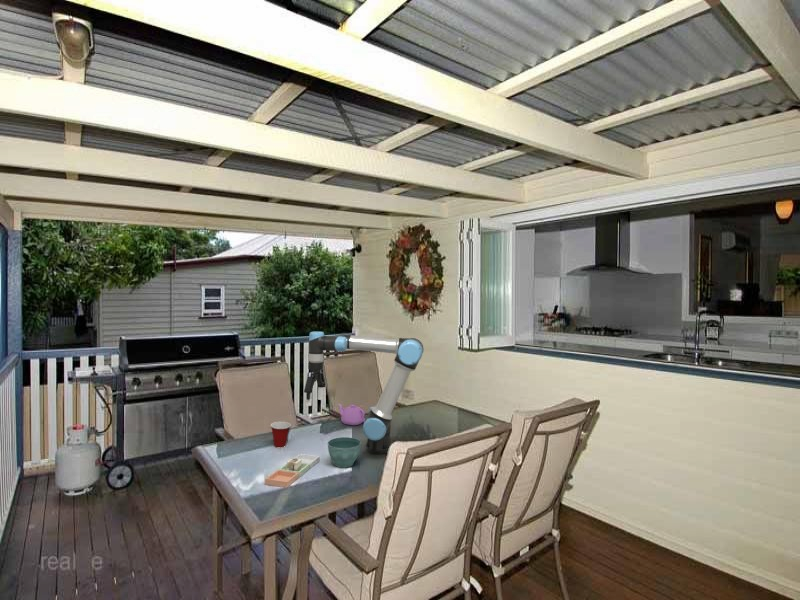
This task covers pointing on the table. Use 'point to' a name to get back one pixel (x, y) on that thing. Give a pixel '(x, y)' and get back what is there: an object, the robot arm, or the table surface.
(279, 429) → the plastic cup
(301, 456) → the box grey
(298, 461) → the letter cube
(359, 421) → the teapot
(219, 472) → the table surface
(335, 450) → the flower pot
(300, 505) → the table surface
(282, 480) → the box terracotta
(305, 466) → the box sage
